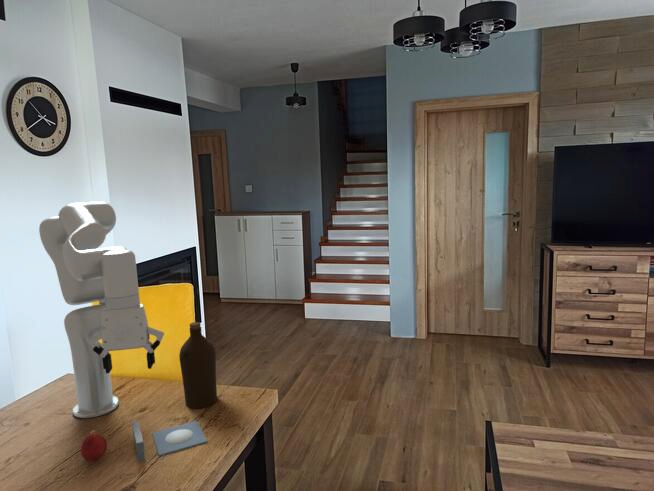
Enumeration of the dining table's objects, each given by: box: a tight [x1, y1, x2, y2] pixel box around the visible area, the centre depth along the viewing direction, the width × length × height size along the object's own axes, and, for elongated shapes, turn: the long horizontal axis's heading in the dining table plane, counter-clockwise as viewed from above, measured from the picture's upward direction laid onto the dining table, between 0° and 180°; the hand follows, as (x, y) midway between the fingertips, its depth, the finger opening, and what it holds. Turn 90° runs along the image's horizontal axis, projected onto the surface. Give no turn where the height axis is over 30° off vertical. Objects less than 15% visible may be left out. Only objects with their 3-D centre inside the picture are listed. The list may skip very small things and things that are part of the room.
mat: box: [152, 420, 208, 457], centre depth 124 cm, size 12×12×1 cm
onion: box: [80, 430, 108, 463], centre depth 114 cm, size 6×6×8 cm
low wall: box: [131, 420, 146, 463], centre depth 119 cm, size 12×2×5 cm, turn 28°
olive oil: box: [179, 321, 218, 409], centre depth 142 cm, size 11×11×25 cm
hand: (130, 369), depth 115 cm, fingers open, 9 cm apart
